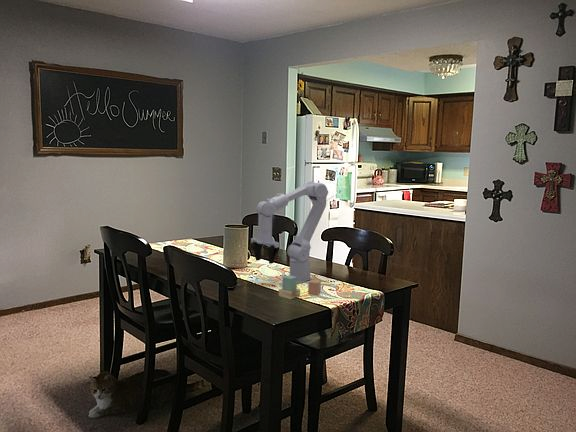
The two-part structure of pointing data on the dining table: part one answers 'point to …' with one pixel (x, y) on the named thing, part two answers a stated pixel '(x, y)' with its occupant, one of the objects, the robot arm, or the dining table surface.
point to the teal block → (289, 283)
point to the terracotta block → (314, 287)
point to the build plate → (234, 287)
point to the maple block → (289, 293)
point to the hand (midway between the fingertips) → (264, 261)
